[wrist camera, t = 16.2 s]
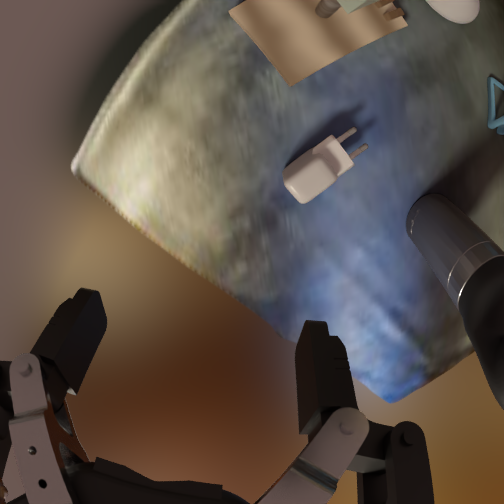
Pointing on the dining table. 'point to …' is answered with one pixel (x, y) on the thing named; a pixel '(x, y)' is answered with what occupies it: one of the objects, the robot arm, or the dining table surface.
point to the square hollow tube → (354, 4)
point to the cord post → (312, 31)
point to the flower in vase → (456, 9)
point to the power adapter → (319, 167)
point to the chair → (502, 122)
